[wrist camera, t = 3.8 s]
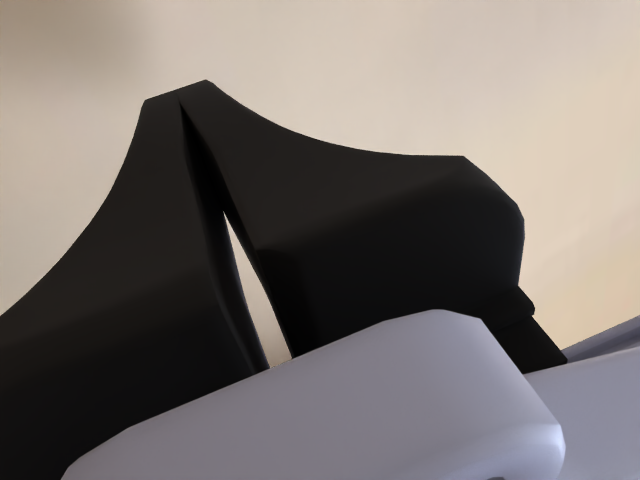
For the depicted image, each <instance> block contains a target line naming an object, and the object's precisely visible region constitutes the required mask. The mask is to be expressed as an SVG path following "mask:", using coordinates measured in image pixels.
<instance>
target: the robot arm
mask: <svg viewBox="0 0 640 480" xmlns="http://www.w3.org/2000/svg"><path fill="white" fill-rule="evenodd" d="M223 211H224V212H223ZM224 213H225V215H226V217H227V219H228V221H229V223H230V225H231V227H232V229H233V231H234V232H235V234H236V236H237V238H238V240H239V242H240V244H241V246H242V248H243V250H244V252H245V253H246V255H247V257H248V259H249V261H250V263H251V265H252V267H253V269H254V271H255V273H256V274H257V276H258V278H259V280H260V282H261V284H262V286H263V288H264V290H265V292H266V295H267V297H268V299H269V301H270V303H271V306H272V308H273V311H274V313H275V316H276V319H277V321H278V324H279V326H280V329H281V331H282V334H283V336H284V339H285V341H286V344H287V346H288V349H289V351H290V354H291V357H292V360H289V361H287V362H284V363H282V364H280V365H277V366H275V367H273V368H270V367H269V364H268V362H267V359H266V356H265V354H264V351H263V348H262V345H261V343H260V340H259V337H258V334H257V332H256V329H255V326H254V323H253V321H252V318H251V315H250V313H249V310H248V306H247V303H246V300H245V296H244V293H243V289H242V285H241V281H240V277H239V273H238V269H237V265H236V260H235V256H234V252H233V248H232V244H231V240H230V236H229V232H228V228H227V224H226V220H225V216H224ZM524 239H525V231H524V218H523V216H522V214H521V212H520V210H519V207H518V205H517V204H516V203H515V202H514V201H513V200H512V199H511V198H510V197H509V196H508V195H507V194H506V193H505V192H504V191H503V190H502V189H501V188H500V187H499V186H498V185H497V184H496V183H495V182H494V181H493V180H492V179H491V178H490V177H489V176H488V175H487V174H485V173H484V172H483V171H482V170H480V169H479V168H478V167H477V166H475V165H474V164H473V163H472V162H470V161H469V160H468V159H467V158H465V157H464V156H438V155H402V154H392V153H381V152H373V151H367V150H360V149H355V148H350V147H345V146H341V145H336V144H332V143H328V142H324V141H320V140H317V139H314V138H311V137H308V136H305V135H302V134H299V133H296V132H294V131H291V130H289V129H286V128H284V127H282V126H279V125H277V124H275V123H273V122H271V121H269V120H267V119H266V118H264V117H262V116H260V115H258V114H257V113H255V112H253V111H252V110H250V109H248V108H247V107H245V106H243V105H242V104H240V103H239V102H237V101H236V100H234V99H233V98H231V97H230V96H229V95H227V94H226V93H224V92H223V91H222V90H220V89H219V88H218V87H217V86H216V85H214V84H213V83H212V82H210V81H208V80H203V81H200V82H197V83H194V84H191V85H188V86H185V87H182V88H179V89H176V90H173V91H170V92H167V93H164V94H161V95H158V96H155V97H152V98H150V99H147V100H145V101H144V103H143V105H142V107H141V112H140V116H139V119H138V123H137V126H136V130H135V133H134V136H133V139H132V142H131V144H130V147H129V150H128V153H127V155H126V158H125V160H124V163H123V165H122V167H121V169H120V172H119V174H118V176H117V178H116V180H115V182H114V184H113V187H112V189H111V191H110V192H109V194H108V196H107V198H106V199H105V201H104V202H103V204H102V205H101V207H100V209H99V210H98V212H97V213H96V215H95V216H94V218H93V219H92V220H91V222H90V223H89V225H88V226H87V227H86V228H85V230H84V231H83V232H82V233H81V235H80V236H79V237H78V238H77V240H76V241H75V242H74V243H73V244H72V246H71V247H70V248H69V249H68V251H67V252H66V253H65V254H64V256H63V257H62V258H61V259H60V260H59V261H58V262H57V263H56V264H55V265H54V266H53V267H52V268H51V270H50V271H49V272H48V273H47V274H46V275H45V276H44V277H43V278H42V279H41V280H40V281H39V282H38V283H37V284H36V285H35V286H34V287H33V288H31V289H30V290H29V291H28V292H27V293H26V294H25V295H24V296H23V297H22V298H21V299H20V300H19V301H17V302H16V303H15V304H14V305H13V306H12V307H11V308H9V309H8V310H7V311H6V312H5V313H3V314H2V315H1V316H0V480H640V315H639V316H637V317H634V318H632V319H630V320H628V321H626V322H623V323H621V324H619V325H617V326H614V327H612V328H610V329H608V330H605V331H603V332H601V333H599V334H596V335H594V336H592V337H590V338H587V339H585V340H583V341H581V342H578V343H576V344H574V345H572V346H569V347H567V348H565V349H563V350H560V349H559V348H558V347H557V346H556V345H555V343H554V342H553V341H552V340H551V339H550V337H549V336H548V335H547V334H546V333H545V332H544V330H543V329H542V328H541V327H540V326H539V324H538V323H537V322H536V321H535V320H534V318H533V317H532V315H534V312H535V307H534V305H533V302H532V301H531V300H530V299H529V298H528V297H527V295H526V294H525V293H524V292H523V291H522V290H521V288H520V287H519V286H518V282H519V275H520V268H521V261H522V253H523V246H524Z"/></svg>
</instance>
